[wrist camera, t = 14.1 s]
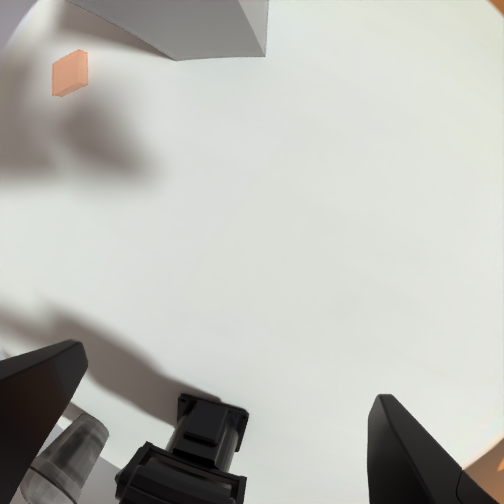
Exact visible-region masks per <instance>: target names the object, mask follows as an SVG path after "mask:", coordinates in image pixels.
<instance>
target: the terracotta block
mask: <svg viewBox="0 0 504 504" xmlns="http://www.w3.org/2000/svg"><path fill="white" fill-rule="evenodd" d="M86 85H88V68H87V52H85V51H82V50H77V51H75V52H73V53H71V54H69V55H67V56H65V57H64V58H62V59H60V60H58V61H57V62H55V63H53V69H52V96H59V97H63V96H65V95H67V94H69V93H71V92H73V91H75V90H77V89H79V88H81V87H84V86H86Z"/></svg>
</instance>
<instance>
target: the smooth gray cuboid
mask: <svg viewBox="0 0 504 504" xmlns="http://www.w3.org/2000/svg"><path fill="white" fill-rule="evenodd" d="M66 1H68V2H70V3H73V4H75V5H77V6H79V7H81V8H83V9H85V10H87V11H89V12H91V13H93V14H95V15H97V16H99V17H101V18H103V19H105V20H107V21H109V22H111V23H112V24H114V25H116V26H118V27H120V28H122V29H123V30H125V31H127V32H129V33H131V34H132V35H134V36H136V37H138V38H139V39H141V40H143V41H144V42H146V43H148V44H149V45H151V46H153V47H154V48H156V49H158V50H159V51H161V52H163V53H164V54H166V55H167V56H169V57H171V58H172V59H174V60H175V61H181V60H192V59H205V58H223V57H265V55H266V38H267V20H268V3H269V0H66Z"/></svg>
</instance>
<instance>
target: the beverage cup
mask: <svg viewBox="0 0 504 504" xmlns="http://www.w3.org/2000/svg"><path fill="white" fill-rule="evenodd" d="M108 437H109V432H108V430H107V429H106V427H105V426H104V425H103V424H102V423H101V422H100V421H99V420H97V419H96V418H94V417H92V416H90V415H88V414H82V415H81V416H80V417H79V418H78V419H76V420H75V421H74V422H73V423H72V424H71V425H70V426H68V427H67V428H66V429H65V430H64V432H62V434H60V435H59V436H58V437H57V438H56V439H55V440H54V441H53V442H52V443H51V444H50V445H49V446H48V447H47V448H46V449H45V450H44V451H43V452H42V453H41V454H40V455H39V456H37V457H35V459H34V460H33V462H32V464H31V466H30V467H29V469H28V471H27V472H26V474H25V476H24V478H23V479H22V481H21V483H20V490H21V493H22V495H23V497H24V499H25V500H26V502H27V503H28V504H77V501H78V499H79V497H80V494H81V489H82V487H83V485H84V483H85V481H86V480H87V478H88V476H89V474H90V472H91V470H92V468H93V466H94V464H95V462H96V461H97V459H98V457H99V455H100V453H101V451H102V449H103V447H104V445H105V443H106V440H107V438H108Z"/></svg>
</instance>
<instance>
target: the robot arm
mask: <svg viewBox="0 0 504 504" xmlns="http://www.w3.org/2000/svg"><path fill="white" fill-rule="evenodd" d="M87 367H88V360H87V356H86V353H85V349H84V345H83V344H82V342H80V341H77V340H74V339H69V340H66V341H63V342H60V343H57V344H54V345H50V346H47V347H44V348H41V349H38V350H34V351H31V352H28V353H25V354H21V355H18V356H15V357H11V358H8V359H5V360H1V361H0V504H9V503H10V502H11V500H12V498H13V496H14V494H15V492H16V491H17V488H18V487H19V485H20V483H21V481H22V479H23V478H24V476H25V474H26V472H27V471H28V469H29V467H30V466H31V464H32V462H33V460H34V459H35V457H36V455H37V454H38V452H39V450H40V449H41V447H42V445H43V444H44V442H45V440H46V439H47V437H48V436H49V434H50V432H51V431H52V429H53V428H54V426H55V424H56V423H57V421H58V420H59V418H60V417H61V415H62V413H63V412H64V410H65V409H66V407H67V406H68V404H69V402H70V400H71V399H72V397H73V395H74V393H75V391H76V389H77V387H78V385H79V383H80V381H81V379H82V377H83V376H84V374H85V372H86V370H87ZM248 418H249V413H248V412H246V411H243V410H239V409H235V408H231V407H227V406H223V405H220V404H216V403H213V402H209V401H206V400H202V399H199V398H196V397H192V396H189V395H186V394H181V395H180V396H179V398H178V416H177V426H176V428H175V430H174V432H173V434H172V436H171V438H170V440H169V442H168V444H167V446H166V448H165V450H164V449H161V448H159V447H157V446H154V445H153V444H152V443H150V442H148V441H146V443H145V444H144V445H143V447H140V448H138V450H137V452H136V454H135V455H134V456H133V458H132V459H131V460H130V462H129V463H128V464H127V465H126V466H125V467H124V468H123V469H122V470H121V471H120V472H119V473H117V475H116V477H115V481H116V484H117V490H116V494H115V498H116V499H117V500H119V501H120V502H119V504H243V502H244V495H245V488H246V481H247V477H244V476H237V475H234V474H231V473H228V472H229V468H230V465H231V462H232V458H233V455H234V452H238V451H239V449H240V446H241V442H242V439H243V436H244V432H245V429H246V425H247V422H248ZM367 474H368V487H369V502H370V504H499V503H498V502H497V501H496V500H495V499H494V498H492V497H491V496H490V495H489V494H488V493H487V492H485V491H484V490H483V489H482V488H481V487H480V486H479V485H478V484H477V483H476V482H475V481H474V480H473V479H472V478H471V477H470V476H469V475H468V474H467V473H466V472H465V471H464V470H462V468H461V466H460V465H459V464H458V463H457V462H456V461H455V460H454V459H453V458H452V457H451V456H450V455H449V454H448V453H447V452H446V451H445V450H444V448H443V447H442V446H441V445H440V444H439V443H438V442H437V441H436V440H435V439H434V438H433V437H432V436H431V435H430V434H429V433H428V432H427V431H426V430H425V428H424V427H423V426H422V425H421V424H420V423H419V422H418V421H417V420H416V419H415V418H414V417H413V416H412V415H411V414H410V413H409V412H408V411H407V410H406V408H405V407H404V406H403V405H402V404H401V403H400V402H399V401H398V400H397V399H396V398H395V397H394V396H393V395H391V394H379V395H377V397H376V399H375V401H374V403H373V406H372V408H371V411H370V413H369V416H368V446H367Z"/></svg>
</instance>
